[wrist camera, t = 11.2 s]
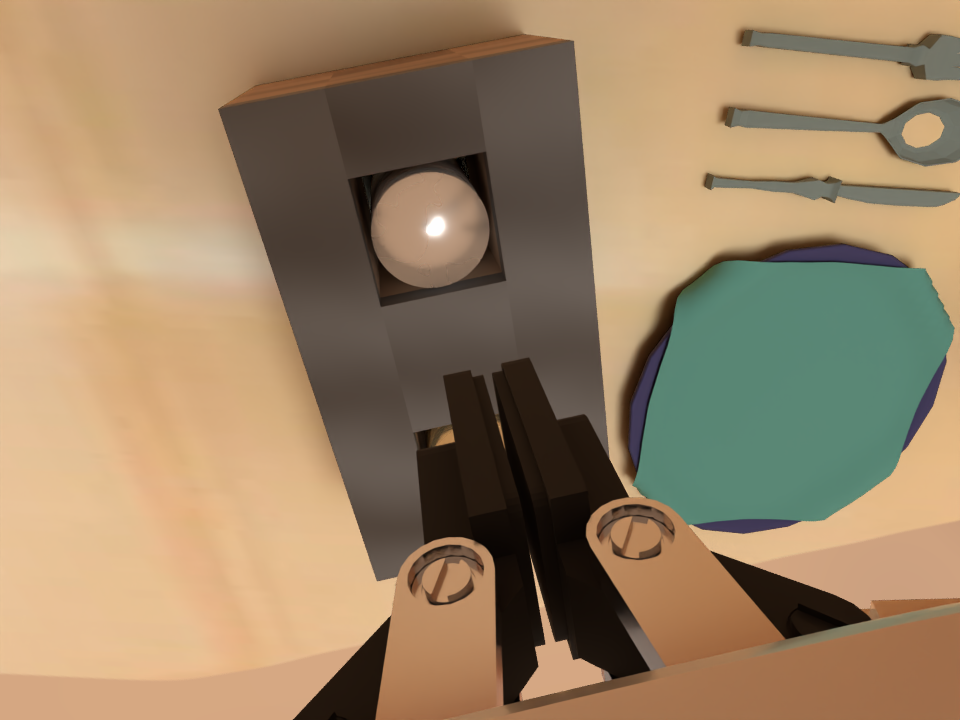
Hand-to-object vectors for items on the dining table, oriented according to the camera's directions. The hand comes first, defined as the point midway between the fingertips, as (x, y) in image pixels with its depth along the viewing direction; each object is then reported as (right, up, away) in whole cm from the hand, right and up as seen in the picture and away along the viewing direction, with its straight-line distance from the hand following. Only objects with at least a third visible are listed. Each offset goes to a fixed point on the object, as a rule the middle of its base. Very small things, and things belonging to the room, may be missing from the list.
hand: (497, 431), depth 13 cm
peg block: (-2, +5, +22) cm, 22 cm away
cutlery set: (+18, +4, +26) cm, 32 cm away
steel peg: (-3, +10, +19) cm, 22 cm away
